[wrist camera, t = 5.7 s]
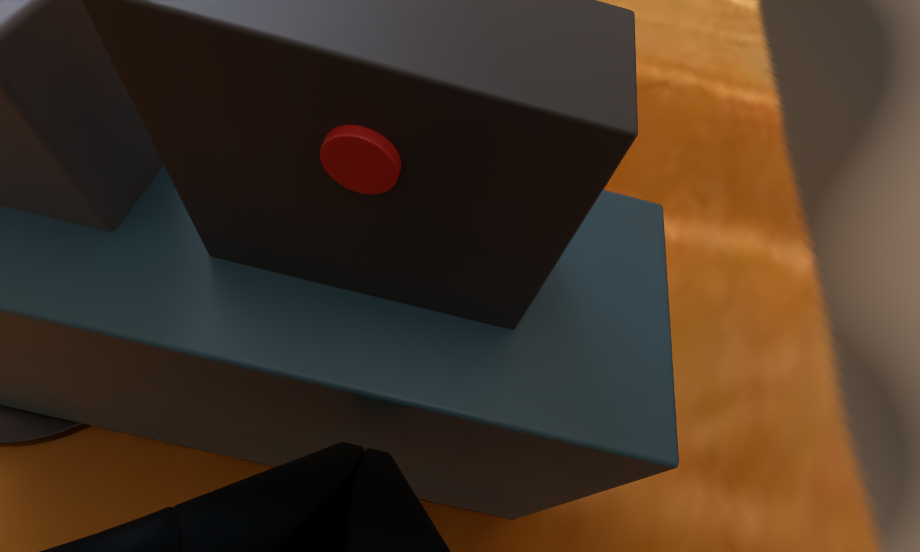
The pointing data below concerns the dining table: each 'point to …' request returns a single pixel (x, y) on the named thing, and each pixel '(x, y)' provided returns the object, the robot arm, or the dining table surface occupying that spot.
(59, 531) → the dining table surface
